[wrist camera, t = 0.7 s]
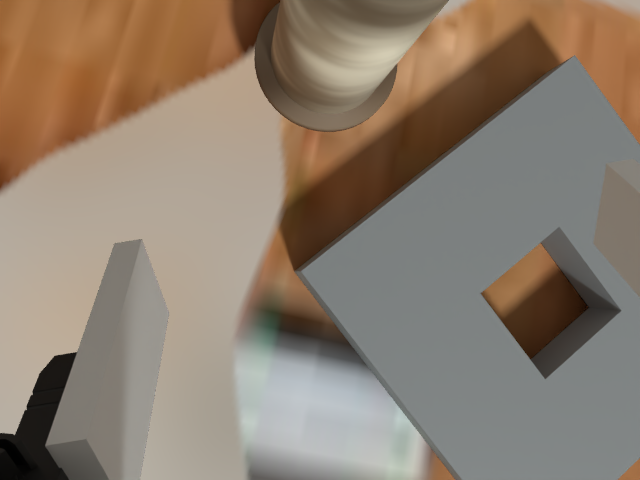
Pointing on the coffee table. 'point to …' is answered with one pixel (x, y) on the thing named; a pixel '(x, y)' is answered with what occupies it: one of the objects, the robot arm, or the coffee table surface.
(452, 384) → the leg board
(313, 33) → the ash leg
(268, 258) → the coffee table surface
